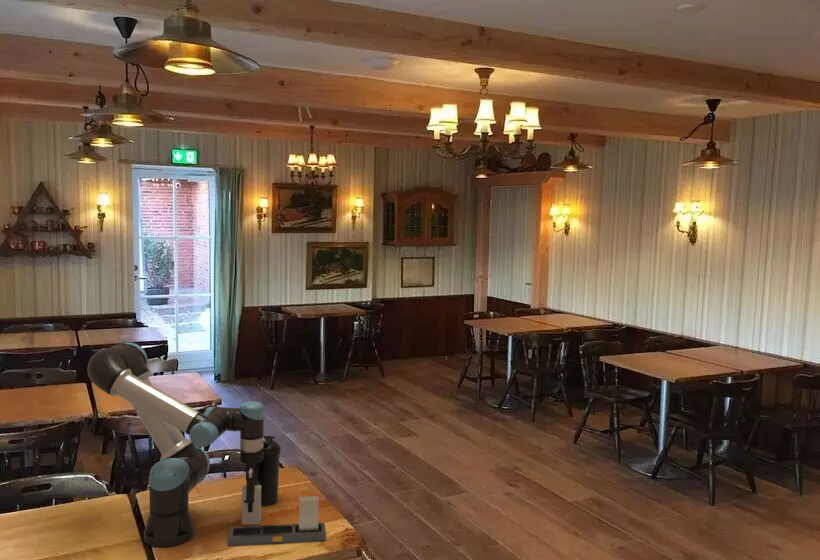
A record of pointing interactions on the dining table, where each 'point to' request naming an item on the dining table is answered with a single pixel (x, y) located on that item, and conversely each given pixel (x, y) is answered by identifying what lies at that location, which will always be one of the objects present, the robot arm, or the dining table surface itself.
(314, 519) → the rack
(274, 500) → the water bottle
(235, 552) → the dining table surface
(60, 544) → the dining table surface
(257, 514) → the block
